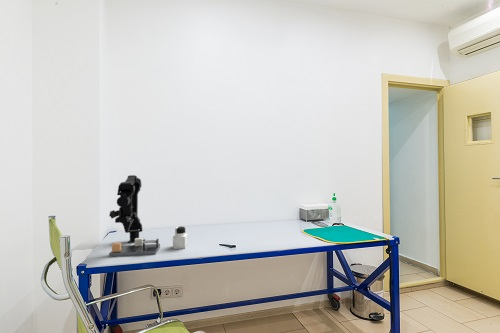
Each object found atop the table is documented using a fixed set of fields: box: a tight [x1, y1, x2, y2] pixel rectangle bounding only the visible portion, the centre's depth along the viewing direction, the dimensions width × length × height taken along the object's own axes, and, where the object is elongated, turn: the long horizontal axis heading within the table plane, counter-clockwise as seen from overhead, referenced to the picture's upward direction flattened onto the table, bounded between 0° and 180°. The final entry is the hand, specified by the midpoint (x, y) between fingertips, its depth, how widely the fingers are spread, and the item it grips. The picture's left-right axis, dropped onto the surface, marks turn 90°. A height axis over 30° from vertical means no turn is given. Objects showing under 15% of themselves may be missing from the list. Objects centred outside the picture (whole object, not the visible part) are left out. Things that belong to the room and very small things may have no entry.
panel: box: [108, 238, 161, 258], centre depth 155 cm, size 14×24×7 cm, turn 99°
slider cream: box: [134, 237, 144, 246], centre depth 159 cm, size 3×4×4 cm
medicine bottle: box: [172, 226, 188, 250], centre depth 163 cm, size 7×7×12 cm
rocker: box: [143, 239, 156, 244], centre depth 156 cm, size 11×6×1 cm, turn 9°
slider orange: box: [111, 242, 122, 252], centre depth 149 cm, size 3×4×4 cm
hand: (126, 232), depth 154 cm, fingers closed
